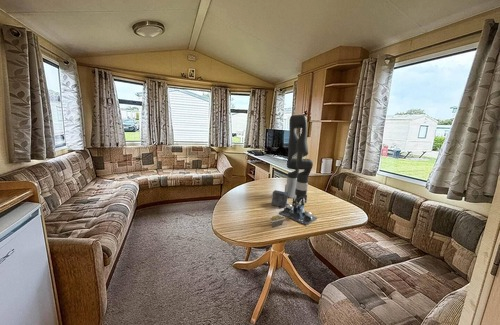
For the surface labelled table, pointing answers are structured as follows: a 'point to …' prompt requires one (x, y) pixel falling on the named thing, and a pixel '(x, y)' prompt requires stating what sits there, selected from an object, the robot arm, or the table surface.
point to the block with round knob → (299, 209)
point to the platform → (276, 220)
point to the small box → (279, 198)
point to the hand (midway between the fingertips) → (298, 210)
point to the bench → (303, 219)
